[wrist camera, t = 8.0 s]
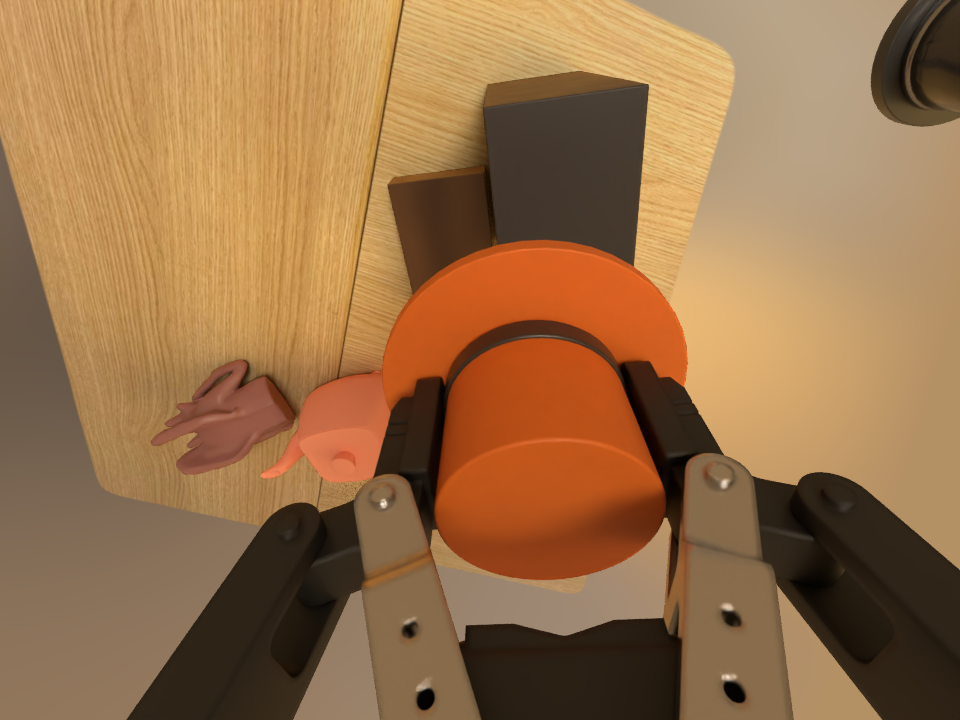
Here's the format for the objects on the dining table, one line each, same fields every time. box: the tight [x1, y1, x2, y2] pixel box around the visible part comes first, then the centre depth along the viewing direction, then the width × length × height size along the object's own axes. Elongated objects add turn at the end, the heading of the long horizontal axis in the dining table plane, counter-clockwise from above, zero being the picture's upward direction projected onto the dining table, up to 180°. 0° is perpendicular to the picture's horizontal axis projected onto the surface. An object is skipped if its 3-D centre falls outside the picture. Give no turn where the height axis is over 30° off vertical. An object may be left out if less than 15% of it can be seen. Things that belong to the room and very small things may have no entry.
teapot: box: [261, 371, 391, 482], centre depth 54 cm, size 20×12×12 cm, turn 105°
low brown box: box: [388, 166, 494, 295], centre depth 45 cm, size 9×14×3 cm, turn 7°
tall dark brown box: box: [483, 71, 649, 267], centre depth 33 cm, size 8×14×20 cm, turn 7°
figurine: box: [151, 360, 295, 475], centre depth 56 cm, size 12×10×15 cm
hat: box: [382, 240, 688, 580], centre depth 11 cm, size 9×9×5 cm
